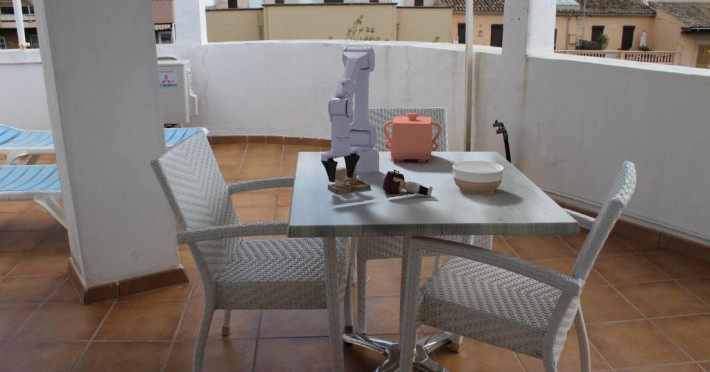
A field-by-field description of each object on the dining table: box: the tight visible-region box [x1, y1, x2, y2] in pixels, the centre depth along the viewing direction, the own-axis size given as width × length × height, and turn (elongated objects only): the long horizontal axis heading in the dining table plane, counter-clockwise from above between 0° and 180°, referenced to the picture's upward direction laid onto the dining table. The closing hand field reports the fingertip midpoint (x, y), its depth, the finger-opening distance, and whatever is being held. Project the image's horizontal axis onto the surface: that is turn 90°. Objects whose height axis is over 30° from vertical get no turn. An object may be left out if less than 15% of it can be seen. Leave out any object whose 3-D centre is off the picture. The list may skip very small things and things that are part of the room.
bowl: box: [452, 160, 505, 196], centre depth 191 cm, size 16×16×8 cm
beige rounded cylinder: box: [334, 166, 347, 189], centre depth 189 cm, size 4×4×6 cm
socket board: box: [327, 179, 372, 195], centre depth 191 cm, size 12×6×2 cm, turn 116°
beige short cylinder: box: [347, 164, 358, 182], centre depth 198 cm, size 4×4×6 cm
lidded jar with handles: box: [382, 112, 443, 163], centre depth 237 cm, size 25×23×18 cm
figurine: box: [382, 169, 434, 198], centre depth 186 cm, size 9×8×15 cm
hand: (340, 179), depth 189 cm, fingers open, 7 cm apart
